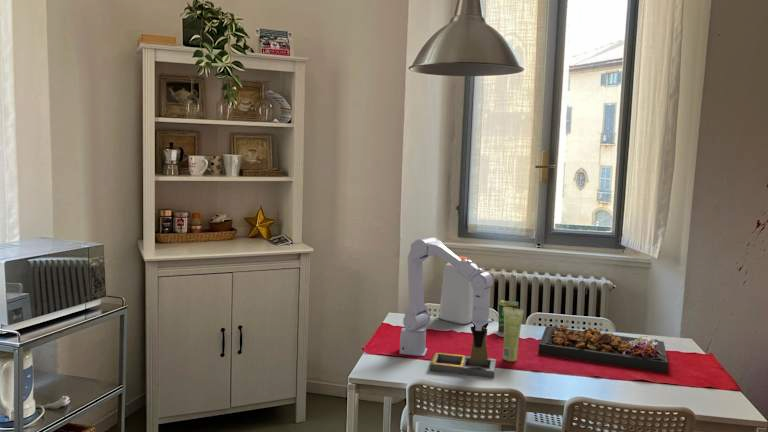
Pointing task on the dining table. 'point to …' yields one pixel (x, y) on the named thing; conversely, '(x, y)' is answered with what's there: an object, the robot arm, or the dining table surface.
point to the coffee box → (501, 313)
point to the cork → (480, 350)
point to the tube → (511, 332)
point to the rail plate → (462, 365)
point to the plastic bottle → (456, 296)
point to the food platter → (604, 348)
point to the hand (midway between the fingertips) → (478, 344)
